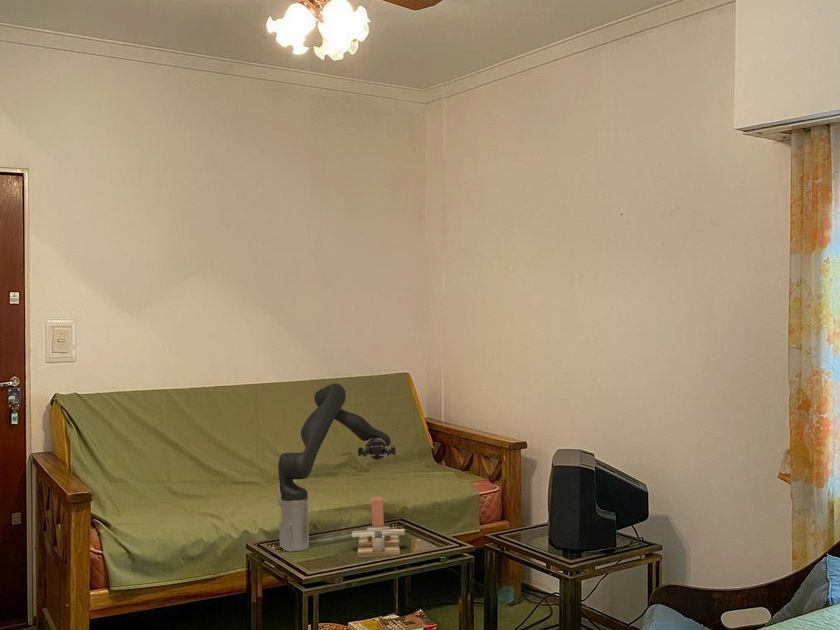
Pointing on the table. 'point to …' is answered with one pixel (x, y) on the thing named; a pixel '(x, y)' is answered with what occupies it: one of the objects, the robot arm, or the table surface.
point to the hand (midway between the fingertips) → (376, 453)
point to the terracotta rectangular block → (377, 512)
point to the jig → (378, 541)
